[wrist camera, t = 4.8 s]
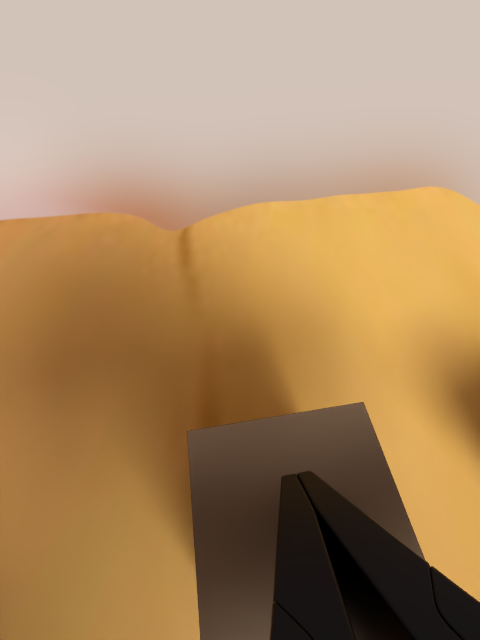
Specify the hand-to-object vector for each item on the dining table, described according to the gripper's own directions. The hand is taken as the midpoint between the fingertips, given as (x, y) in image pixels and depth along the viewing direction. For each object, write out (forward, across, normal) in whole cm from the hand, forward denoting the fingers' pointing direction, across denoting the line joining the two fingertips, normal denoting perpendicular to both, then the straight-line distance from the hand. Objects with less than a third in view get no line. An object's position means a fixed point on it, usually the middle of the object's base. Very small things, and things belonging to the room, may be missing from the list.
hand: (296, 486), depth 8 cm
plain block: (+6, 0, +7) cm, 9 cm away
